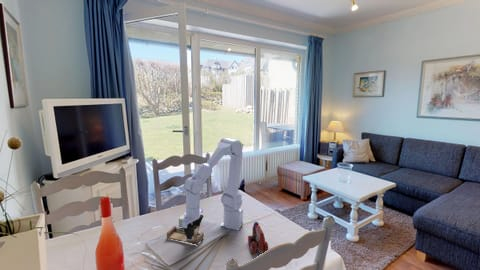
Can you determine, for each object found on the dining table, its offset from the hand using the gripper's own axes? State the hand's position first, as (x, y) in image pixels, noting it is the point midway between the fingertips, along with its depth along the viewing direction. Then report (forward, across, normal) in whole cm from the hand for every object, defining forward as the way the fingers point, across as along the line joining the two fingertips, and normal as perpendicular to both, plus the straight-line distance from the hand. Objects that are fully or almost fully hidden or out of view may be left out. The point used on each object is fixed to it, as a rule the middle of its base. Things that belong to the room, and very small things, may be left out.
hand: (192, 234), depth 100 cm
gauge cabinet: (+3, -10, -8) cm, 13 cm away
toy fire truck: (+4, -7, +28) cm, 29 cm away
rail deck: (+3, -1, -4) cm, 5 cm away
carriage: (+2, 0, 0) cm, 2 cm away
